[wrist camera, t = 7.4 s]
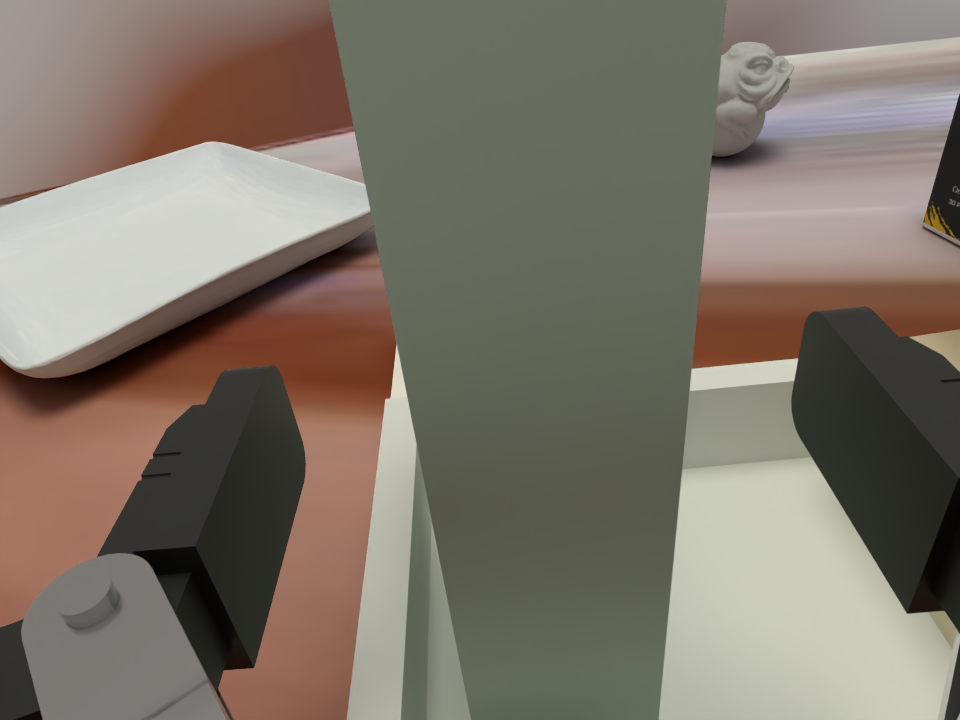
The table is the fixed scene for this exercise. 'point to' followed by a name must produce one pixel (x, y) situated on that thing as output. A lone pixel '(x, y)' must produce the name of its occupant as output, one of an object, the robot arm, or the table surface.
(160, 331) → the salad plate
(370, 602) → the tray
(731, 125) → the frog figurine
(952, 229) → the medicine bottle
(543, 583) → the board
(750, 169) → the table surface
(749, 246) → the table surface
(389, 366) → the table surface
